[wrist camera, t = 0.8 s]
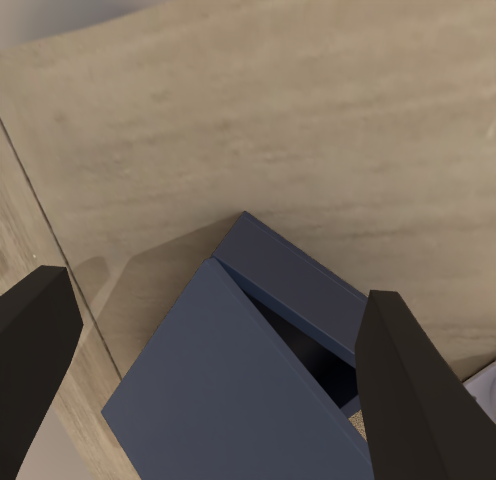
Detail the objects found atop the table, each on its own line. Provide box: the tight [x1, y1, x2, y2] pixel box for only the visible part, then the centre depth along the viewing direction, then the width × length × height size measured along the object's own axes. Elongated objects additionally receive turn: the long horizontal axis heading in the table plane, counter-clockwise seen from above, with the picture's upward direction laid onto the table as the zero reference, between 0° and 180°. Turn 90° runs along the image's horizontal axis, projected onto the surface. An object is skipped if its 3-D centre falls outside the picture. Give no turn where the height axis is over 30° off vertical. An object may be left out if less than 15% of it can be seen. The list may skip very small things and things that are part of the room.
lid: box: [101, 257, 375, 480], centre depth 24 cm, size 12×16×1 cm
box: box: [209, 211, 368, 419], centre depth 29 cm, size 12×16×6 cm
